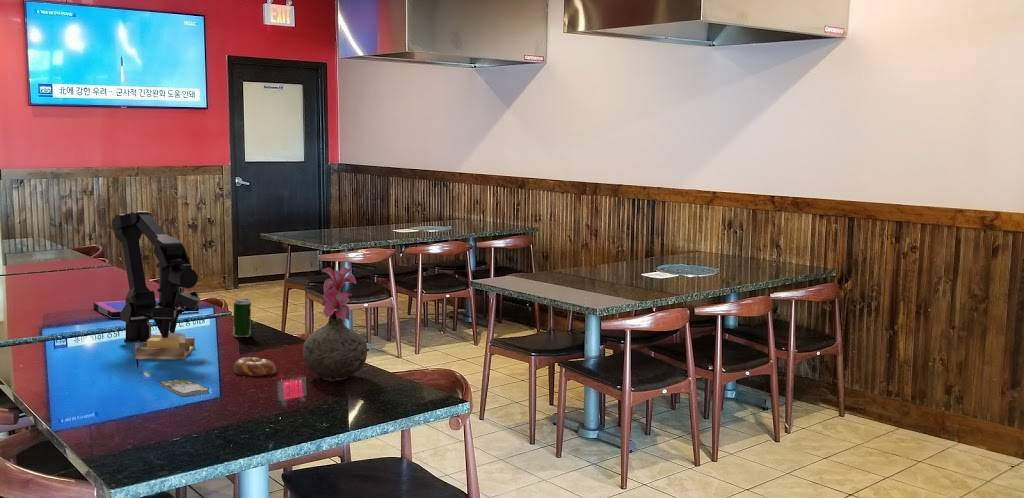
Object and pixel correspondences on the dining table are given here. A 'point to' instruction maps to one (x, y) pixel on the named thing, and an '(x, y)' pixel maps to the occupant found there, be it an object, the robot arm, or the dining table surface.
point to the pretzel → (254, 367)
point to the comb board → (166, 351)
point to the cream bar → (171, 336)
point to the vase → (335, 334)
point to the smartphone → (184, 387)
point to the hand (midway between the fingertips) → (169, 336)
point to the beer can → (242, 318)
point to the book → (119, 307)
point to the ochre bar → (163, 343)
